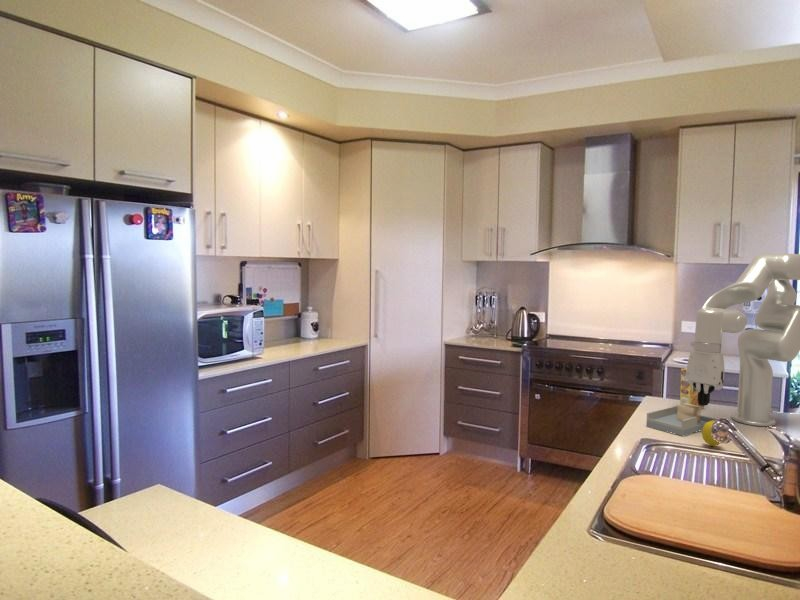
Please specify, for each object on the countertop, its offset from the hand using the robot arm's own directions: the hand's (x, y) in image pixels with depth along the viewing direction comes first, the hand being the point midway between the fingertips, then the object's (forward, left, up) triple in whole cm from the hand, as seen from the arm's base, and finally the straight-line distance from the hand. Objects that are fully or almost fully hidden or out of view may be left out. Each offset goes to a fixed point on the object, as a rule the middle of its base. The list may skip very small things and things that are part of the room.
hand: (703, 404), depth 176 cm
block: (-1, -5, -7) cm, 8 cm away
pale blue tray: (0, -6, -9) cm, 11 cm away
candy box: (-24, -16, -9) cm, 30 cm away
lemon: (+13, +10, -9) cm, 19 cm away
